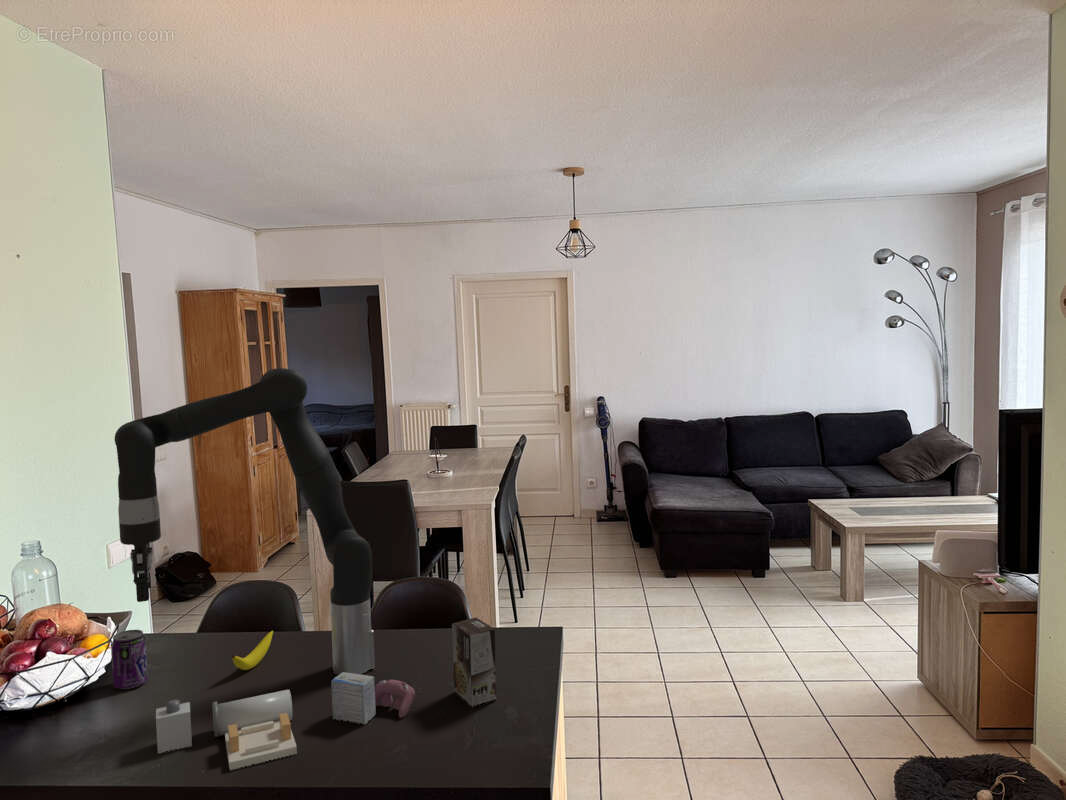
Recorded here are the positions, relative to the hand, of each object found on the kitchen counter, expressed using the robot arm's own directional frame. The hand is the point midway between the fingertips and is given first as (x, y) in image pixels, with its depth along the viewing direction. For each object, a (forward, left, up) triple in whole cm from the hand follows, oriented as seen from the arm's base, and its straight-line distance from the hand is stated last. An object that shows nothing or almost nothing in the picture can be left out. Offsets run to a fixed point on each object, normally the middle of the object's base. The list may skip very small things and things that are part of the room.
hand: (144, 594), depth 156 cm
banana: (-22, -18, -27) cm, 39 cm away
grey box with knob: (-4, +14, -27) cm, 31 cm away
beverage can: (+5, -20, -27) cm, 34 cm away
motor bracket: (-19, +20, -27) cm, 38 cm away
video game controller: (-46, +20, -27) cm, 57 cm away
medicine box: (-38, +20, -27) cm, 51 cm away
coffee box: (-64, +23, -27) cm, 73 cm away
